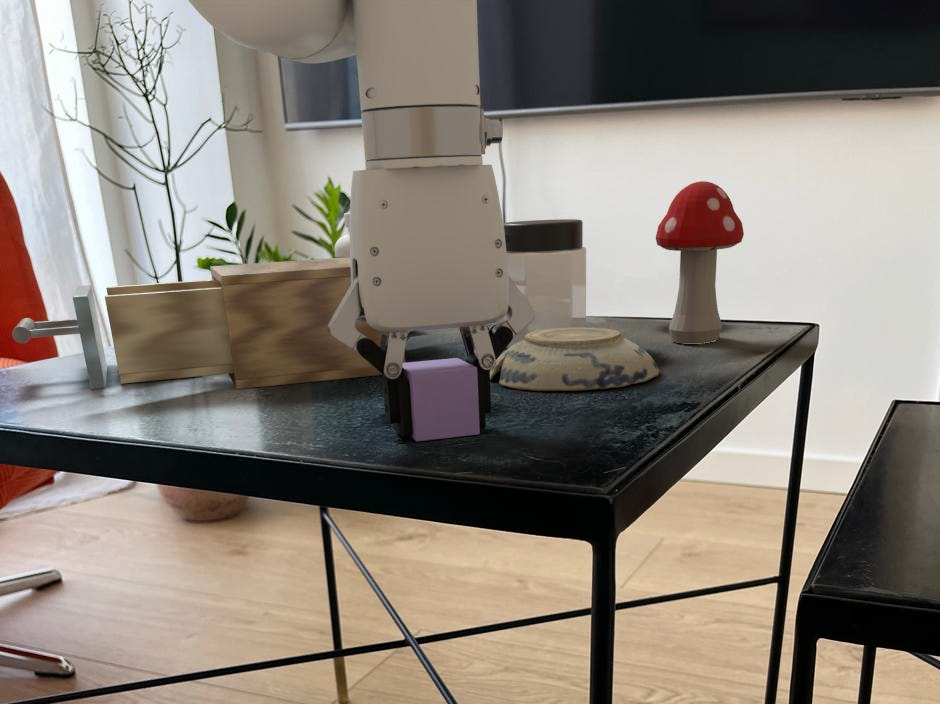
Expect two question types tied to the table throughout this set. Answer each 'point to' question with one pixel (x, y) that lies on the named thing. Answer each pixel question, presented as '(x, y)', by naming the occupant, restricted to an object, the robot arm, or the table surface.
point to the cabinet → (289, 322)
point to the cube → (443, 398)
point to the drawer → (148, 331)
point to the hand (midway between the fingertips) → (439, 426)
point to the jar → (548, 271)
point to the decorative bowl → (574, 361)
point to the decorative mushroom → (698, 256)
